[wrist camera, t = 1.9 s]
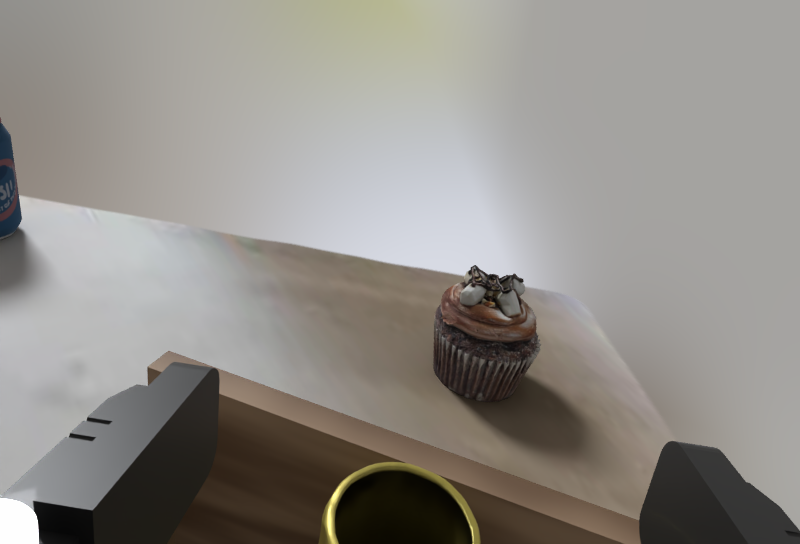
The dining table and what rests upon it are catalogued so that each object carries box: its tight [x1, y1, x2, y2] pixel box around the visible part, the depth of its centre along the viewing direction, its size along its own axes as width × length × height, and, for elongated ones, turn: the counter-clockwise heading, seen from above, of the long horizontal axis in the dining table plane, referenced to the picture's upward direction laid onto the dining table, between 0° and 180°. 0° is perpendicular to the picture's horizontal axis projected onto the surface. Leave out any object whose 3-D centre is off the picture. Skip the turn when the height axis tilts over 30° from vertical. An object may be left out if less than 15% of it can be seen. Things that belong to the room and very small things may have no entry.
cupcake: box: [434, 265, 541, 402], centre depth 48 cm, size 10×10×10 cm
